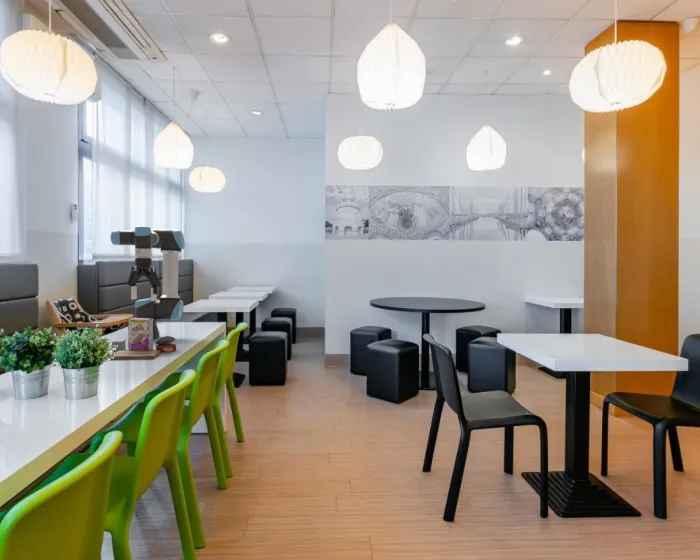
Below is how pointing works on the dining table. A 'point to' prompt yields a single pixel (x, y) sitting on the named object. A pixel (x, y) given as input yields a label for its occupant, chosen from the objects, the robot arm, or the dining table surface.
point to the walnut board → (136, 354)
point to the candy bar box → (140, 334)
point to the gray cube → (120, 344)
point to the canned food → (164, 346)
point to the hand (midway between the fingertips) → (143, 300)
